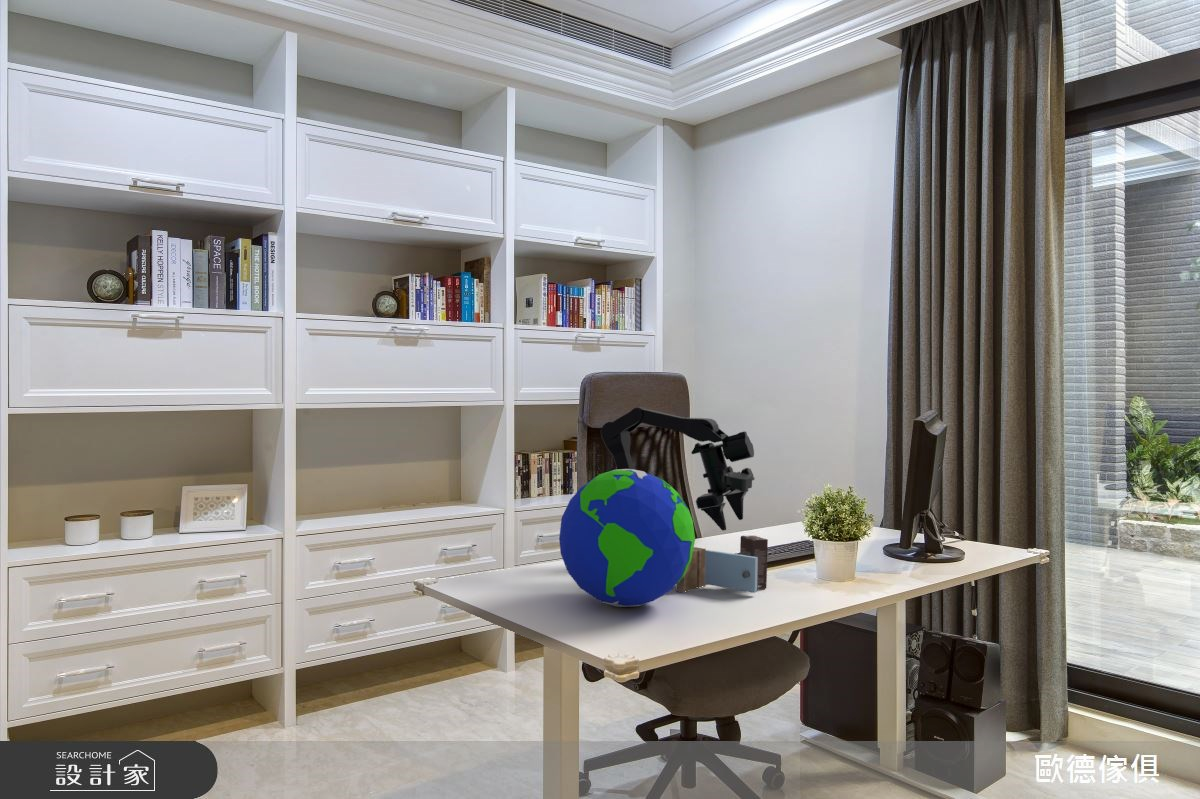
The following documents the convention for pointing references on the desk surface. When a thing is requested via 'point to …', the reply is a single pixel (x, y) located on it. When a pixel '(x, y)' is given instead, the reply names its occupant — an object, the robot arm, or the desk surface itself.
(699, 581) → the doorframe
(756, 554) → the box
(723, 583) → the door
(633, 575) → the globe
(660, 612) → the desk surface
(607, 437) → the robot arm
